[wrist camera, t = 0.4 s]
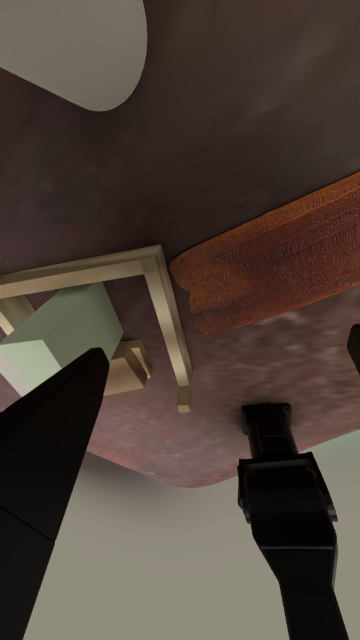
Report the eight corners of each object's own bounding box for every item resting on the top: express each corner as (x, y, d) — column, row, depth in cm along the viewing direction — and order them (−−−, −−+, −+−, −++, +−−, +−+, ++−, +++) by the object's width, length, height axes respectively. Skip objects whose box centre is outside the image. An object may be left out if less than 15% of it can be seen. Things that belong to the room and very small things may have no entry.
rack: (192, 369, 29) (190, 412, 24) (71, 380, 32) (47, 419, 27) (161, 244, 20) (148, 269, 15) (0, 275, 24) (-53, 304, 19)
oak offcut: (153, 366, 30) (150, 377, 28) (104, 370, 31) (98, 382, 30) (142, 336, 27) (138, 347, 26) (89, 342, 29) (82, 353, 27)
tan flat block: (147, 374, 28) (144, 387, 26) (106, 383, 30) (100, 396, 28) (128, 344, 26) (123, 357, 24) (84, 356, 27) (77, 368, 25)
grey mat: (73, 392, 34) (71, 396, 33) (26, 396, 35) (24, 399, 35) (36, 340, 28) (33, 343, 28) (-17, 346, 30) (-20, 349, 29)
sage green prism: (123, 332, 27) (88, 407, 18) (96, 335, 27) (50, 410, 19) (100, 276, 23) (42, 339, 15) (69, 282, 23) (-4, 345, 15)
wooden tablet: (203, 334, 27) (203, 343, 25) (162, 257, 22) (159, 264, 20) (510, 234, 18) (534, 239, 17) (552, 75, 14) (592, 66, 12)
